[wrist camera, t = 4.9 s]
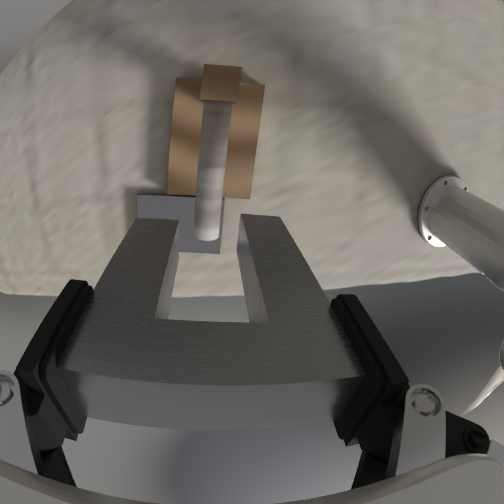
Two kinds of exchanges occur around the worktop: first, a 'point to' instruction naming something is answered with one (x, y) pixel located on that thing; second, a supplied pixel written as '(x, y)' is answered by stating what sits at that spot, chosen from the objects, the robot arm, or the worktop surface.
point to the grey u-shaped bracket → (210, 341)
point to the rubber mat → (182, 211)
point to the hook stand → (213, 142)
